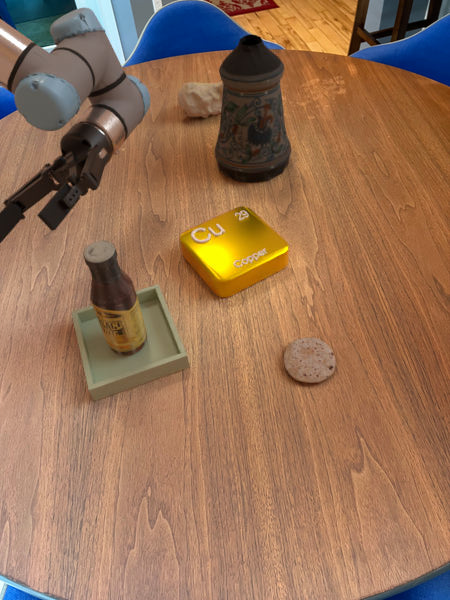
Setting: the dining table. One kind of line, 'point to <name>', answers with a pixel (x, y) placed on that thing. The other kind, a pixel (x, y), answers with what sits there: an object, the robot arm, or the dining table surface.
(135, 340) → the sauce bottle
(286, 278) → the dining table surface
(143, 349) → the serving tray
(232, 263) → the element tile
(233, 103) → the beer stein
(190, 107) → the beige rock
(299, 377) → the flatbread
